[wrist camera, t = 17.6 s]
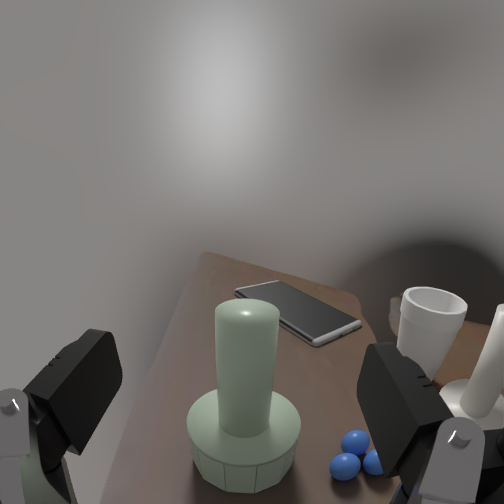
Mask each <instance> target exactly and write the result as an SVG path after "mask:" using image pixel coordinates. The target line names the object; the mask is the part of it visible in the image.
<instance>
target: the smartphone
mask: <svg viewBox="0 0 504 504" xmlns="http://www.w3.org/2000/svg"><path fill="white" fill-rule="evenodd" d="M235 295H237V296H238V297H239V298H241V299H256V300H261V301H265V302H268V303H270V304H272V305H274V306H275V307H277V308H278V310H279V312H280V316H279V325H281V326H282V327H284V328H285V329H287V330H288V331H290V332H291V333H293V334H295V335H296V336H298V337H299V338H301V339H302V340H304V341H305V342H307V343H309V344H310V345H312V346H320V345H322V344H325V343H327V342H329V341H331V340H333V339H336V338H338V336H340V335H344V334H346V333H348V332H351V331H353V329H354V330H355V329H357V328H359V327H360V326H361V321H360V320H358V319H356V318H354V317H352V316H350V315H348V314H346V313H344V312H342V311H340V310H338V309H335V308H333V307H331V306H329V305H327V304H325V303H323V302H321V301H319V300H317V299H315V298H313V297H311V296H309V295H307V294H305V293H303V292H301V291H299V290H297V289H295V288H293V287H291V286H289V285H287V284H285V283H283V282H281V281H278V280H277V281H272V282H267V283H262V284H258V285H253V286H248V287H243V288H237V289H235Z"/></svg>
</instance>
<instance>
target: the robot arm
mask: <svg viewBox="0 0 504 504" xmlns="http://www.w3.org/2000/svg"><path fill="white" fill-rule="evenodd" d="M121 383H122V368H121V364H120V360H119V356H118V352H117V349H116V344H115V340H114V337H113V335H112V333H111V332H107V331H101V330H95V329H88V330H87V331H86V332H85V333H84V334H83V335H82V336H81V337H80V338H79V339H78V340H77V341H75V342H73V343H71V344H69V345H67V346H66V347H64V348H63V349H62V350H61V351H60V352H59V353H58V354H57V355H56V356H55V358H53V359H52V360H51V361H50V362H49V363H48V365H46V366H45V367H44V368H43V369H42V370H41V371H40V372H39V374H38V375H37V376H36V377H35V378H34V379H33V380H32V381H31V382H30V383H29V384H28V385H27V386H26V387H25V388H24V390H23V391H21V390H19V389H5V390H2V391H0V504H78V503H77V500H76V497H75V493H74V490H73V486H72V483H71V479H70V475H69V471H68V467H67V463H66V460H65V458H64V457H63V455H64V454H65V452H66V451H69V452H72V453H74V454H77V455H79V456H80V455H81V453H82V452H83V450H84V448H85V446H86V445H87V443H88V441H89V439H90V438H91V436H92V434H93V432H94V431H95V429H96V427H97V425H98V424H99V422H100V420H101V418H102V417H103V415H104V413H105V412H106V410H107V408H108V406H109V405H110V403H111V401H112V400H113V398H114V396H115V395H116V393H117V391H118V390H119V388H120V386H121ZM357 398H358V402H359V404H360V407H361V410H362V412H363V415H364V418H365V421H366V424H367V426H368V429H369V432H370V435H371V438H372V441H373V443H374V446H375V449H376V452H377V455H378V458H379V461H380V464H381V467H382V470H383V473H384V476H385V479H386V478H390V477H394V476H398V475H399V476H400V479H401V483H400V484H399V486H398V487H397V489H396V492H395V494H394V496H393V498H392V500H391V502H390V504H504V427H503V429H493V430H482V428H481V427H480V426H479V425H478V424H477V423H476V422H474V421H473V420H471V419H468V418H465V417H454V415H453V414H452V412H451V410H450V409H449V407H448V406H447V404H446V403H445V401H444V400H443V398H442V397H441V395H440V394H439V393H438V391H437V390H436V388H435V387H434V386H432V382H431V381H430V379H429V378H428V377H426V374H425V372H424V371H423V370H422V368H421V367H420V365H419V364H417V363H416V362H415V361H413V360H412V359H410V358H409V357H408V356H403V355H402V354H401V353H400V351H399V350H398V348H397V347H396V346H395V344H394V343H392V342H389V343H375V344H369V345H368V347H367V349H366V353H365V357H364V361H363V364H362V368H361V372H360V375H359V379H358V383H357Z"/></svg>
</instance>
